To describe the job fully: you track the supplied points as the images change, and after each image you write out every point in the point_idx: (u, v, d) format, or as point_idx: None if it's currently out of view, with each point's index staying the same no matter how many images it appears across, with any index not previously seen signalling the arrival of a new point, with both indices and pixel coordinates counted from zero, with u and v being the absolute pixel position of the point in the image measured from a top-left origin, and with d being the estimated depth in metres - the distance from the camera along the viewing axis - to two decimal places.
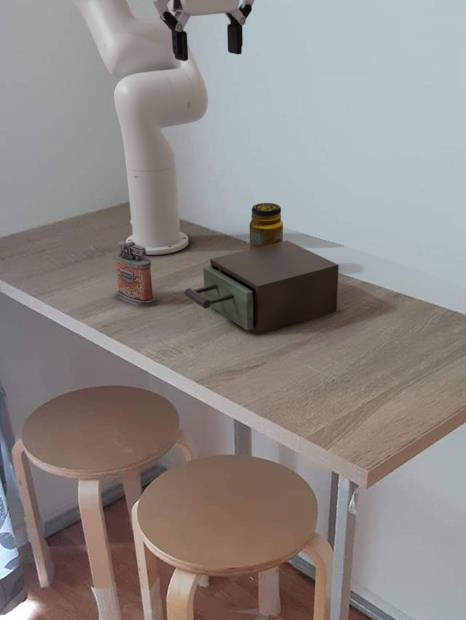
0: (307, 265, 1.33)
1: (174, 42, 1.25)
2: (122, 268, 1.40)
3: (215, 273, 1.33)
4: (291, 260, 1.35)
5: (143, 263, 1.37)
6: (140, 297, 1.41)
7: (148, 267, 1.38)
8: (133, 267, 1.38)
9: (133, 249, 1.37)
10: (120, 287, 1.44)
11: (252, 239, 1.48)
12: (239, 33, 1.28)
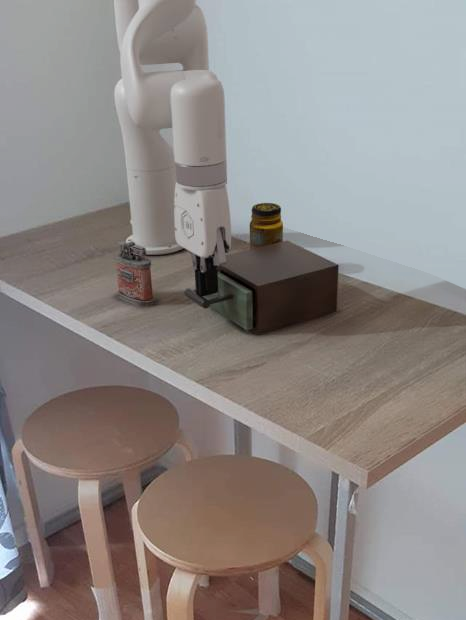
0: (307, 265, 1.33)
1: (210, 281, 1.28)
2: (122, 268, 1.40)
3: None
4: (291, 260, 1.35)
5: (143, 263, 1.37)
6: (140, 297, 1.41)
7: (148, 267, 1.38)
8: (133, 267, 1.38)
9: (133, 249, 1.37)
10: (120, 287, 1.44)
11: (252, 239, 1.48)
12: None
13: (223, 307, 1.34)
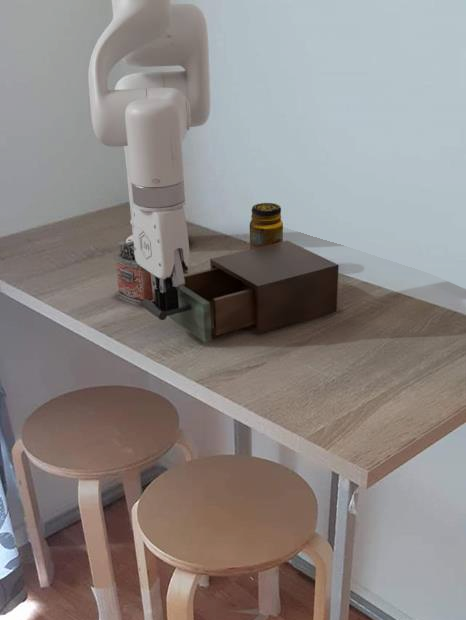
0: (307, 265, 1.33)
1: (170, 301, 1.26)
2: (122, 268, 1.40)
3: None
4: (291, 260, 1.35)
5: None
6: (140, 297, 1.41)
7: None
8: (133, 267, 1.38)
9: (133, 249, 1.37)
10: (120, 287, 1.44)
11: (252, 239, 1.48)
12: None
13: (182, 318, 1.31)
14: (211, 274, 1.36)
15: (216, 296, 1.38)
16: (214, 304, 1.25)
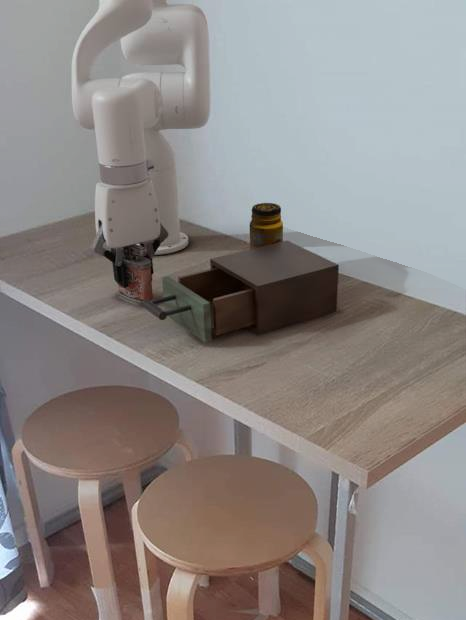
0: (307, 265, 1.33)
1: (115, 272, 1.39)
2: None
3: (173, 283, 1.30)
4: (291, 260, 1.35)
5: (144, 263, 1.37)
6: (140, 297, 1.41)
7: (148, 267, 1.38)
8: (133, 267, 1.38)
9: (133, 249, 1.37)
10: (120, 287, 1.44)
11: (252, 239, 1.48)
12: None
13: (182, 318, 1.31)
14: (211, 274, 1.36)
15: (216, 296, 1.38)
16: (214, 304, 1.25)
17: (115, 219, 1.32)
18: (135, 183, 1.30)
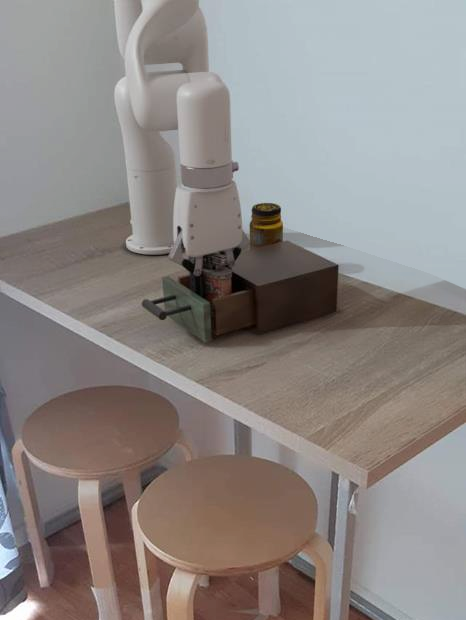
0: (307, 265, 1.33)
1: (192, 283, 1.28)
2: None
3: (173, 283, 1.30)
4: (291, 260, 1.35)
5: (225, 273, 1.26)
6: None
7: (229, 277, 1.27)
8: (213, 277, 1.27)
9: (214, 258, 1.27)
10: None
11: (252, 239, 1.48)
12: None
13: (182, 318, 1.31)
14: None
15: None
16: (214, 304, 1.25)
17: (197, 225, 1.21)
18: (220, 186, 1.19)
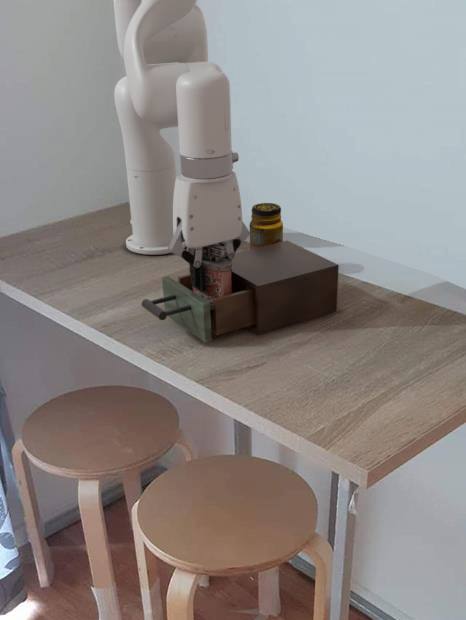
0: (307, 265, 1.33)
1: (192, 275, 1.28)
2: None
3: (173, 283, 1.30)
4: (291, 260, 1.35)
5: (225, 265, 1.26)
6: None
7: (229, 269, 1.26)
8: (212, 269, 1.27)
9: (213, 249, 1.26)
10: (195, 291, 1.32)
11: (252, 239, 1.48)
12: None
13: (182, 318, 1.31)
14: None
15: None
16: (214, 304, 1.25)
17: (196, 216, 1.21)
18: (220, 177, 1.18)
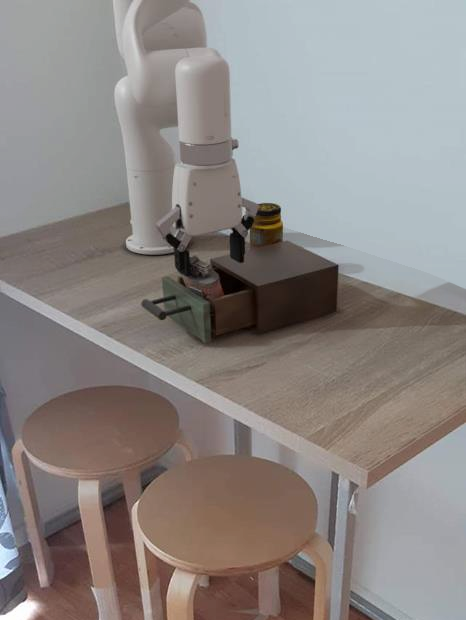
0: (307, 265, 1.33)
1: (176, 259, 1.25)
2: (190, 285, 1.29)
3: (173, 283, 1.30)
4: (291, 260, 1.35)
5: (211, 281, 1.25)
6: None
7: (217, 283, 1.26)
8: (201, 285, 1.26)
9: (198, 267, 1.25)
10: None
11: (252, 239, 1.48)
12: (241, 245, 1.28)
13: (182, 318, 1.31)
14: None
15: None
16: (214, 304, 1.25)
17: (196, 204, 1.19)
18: (220, 163, 1.17)
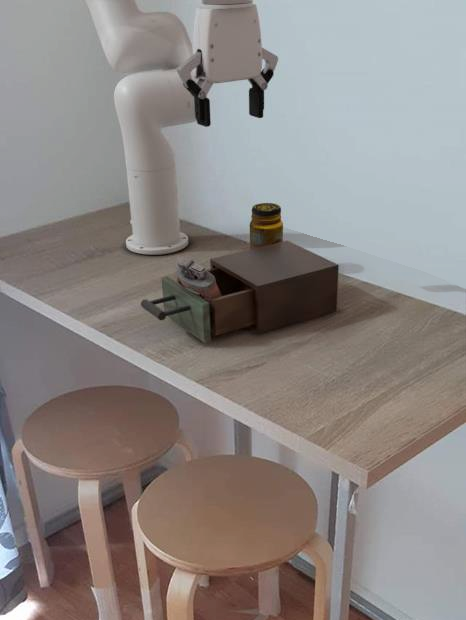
0: (307, 265, 1.33)
1: (197, 108, 1.26)
2: (187, 287, 1.29)
3: (173, 284, 1.30)
4: (291, 260, 1.35)
5: (207, 284, 1.25)
6: None
7: (213, 285, 1.25)
8: (198, 288, 1.26)
9: (193, 271, 1.25)
10: None
11: (252, 239, 1.48)
12: (261, 98, 1.29)
13: (181, 318, 1.31)
14: None
15: None
16: (213, 304, 1.25)
17: (217, 47, 1.20)
18: (241, 3, 1.18)
